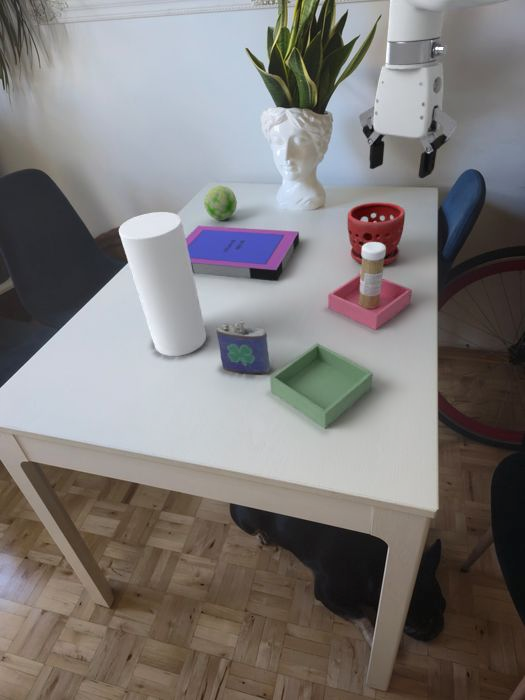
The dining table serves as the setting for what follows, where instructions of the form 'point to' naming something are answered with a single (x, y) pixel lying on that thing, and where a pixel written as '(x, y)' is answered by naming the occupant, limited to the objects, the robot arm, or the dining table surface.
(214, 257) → the book
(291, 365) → the green bin
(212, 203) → the decorative ball
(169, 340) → the tall pillar cylinder
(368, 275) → the sprinkles bottle
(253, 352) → the flask
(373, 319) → the pink bin
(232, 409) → the dining table surface
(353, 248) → the flower pot
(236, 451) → the dining table surface
